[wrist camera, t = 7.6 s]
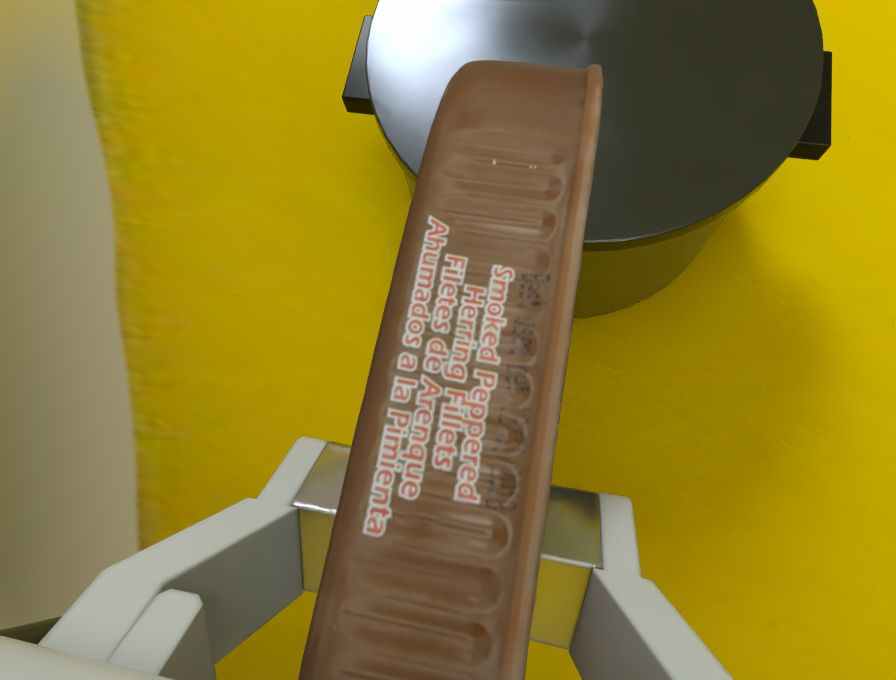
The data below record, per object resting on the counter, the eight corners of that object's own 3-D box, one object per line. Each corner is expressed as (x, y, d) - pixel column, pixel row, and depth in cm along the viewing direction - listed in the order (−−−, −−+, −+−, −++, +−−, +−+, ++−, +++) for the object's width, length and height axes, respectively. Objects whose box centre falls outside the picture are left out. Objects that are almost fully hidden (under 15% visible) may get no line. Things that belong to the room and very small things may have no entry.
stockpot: (350, 298, 30) (286, 206, 21) (416, 33, 35) (386, -135, 26) (745, 357, 27) (862, 280, 18) (760, 61, 32) (859, -116, 23)
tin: (470, 808, 13) (519, 1265, 5) (331, 776, 13) (158, 1171, 5) (560, 217, 18) (662, -46, 9) (457, 199, 18) (472, -76, 10)
